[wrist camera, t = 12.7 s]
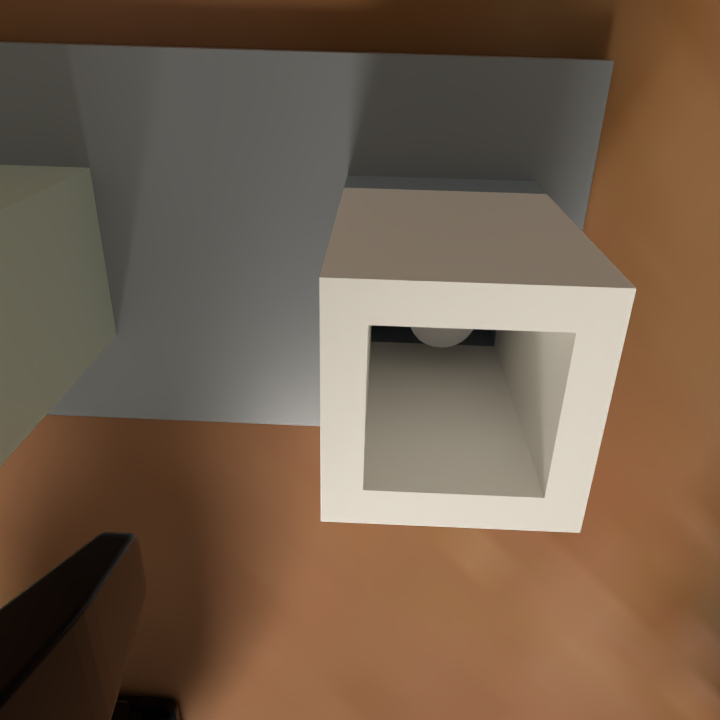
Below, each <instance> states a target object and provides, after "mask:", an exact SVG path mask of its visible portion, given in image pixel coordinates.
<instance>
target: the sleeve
mask: <svg viewBox="0 0 720 720" xmlns="http://www.w3.org/2000/svg"><path fill="white" fill-rule="evenodd" d="M635 292H636V288H635V286H634V285H633V284H632V283H631V282H630V281H629V280H628V279H627V278H626V277H625V276H624V275H623V274H622V273H621V272H620V271H619V270H618V269H617V267H616V266H615V265H614V264H613V263H612V262H611V261H610V260H609V259H608V258H607V257H606V256H605V255H604V254H603V253H602V252H601V251H600V250H599V249H598V247H597V246H596V245H595V244H594V243H593V242H592V241H591V240H590V239H589V238H588V237H587V236H586V235H585V234H584V233H583V232H582V231H581V230H580V228H579V227H578V226H577V225H576V224H575V223H574V222H573V221H572V220H571V219H570V218H569V217H568V216H567V215H566V214H565V213H564V212H563V211H562V210H561V208H560V207H559V206H558V205H557V204H556V203H555V202H554V201H553V200H552V199H551V198H550V197H549V196H548V195H547V194H546V193H545V192H544V191H543V189H542V188H541V187H540V186H539V185H538V184H537V183H536V182H535V181H514V180H482V179H450V178H418V177H386V176H354V175H347V178H346V182H345V186H344V189H343V193H342V197H341V200H340V204H339V208H338V211H337V215H336V218H335V222H334V226H333V229H332V233H331V237H330V240H329V244H328V248H327V251H326V255H325V259H324V262H323V266H322V270H321V273H320V277H319V305H320V472H321V521H324V522H347V523H370V524H393V525H416V526H438V527H461V528H484V529H507V530H530V531H553V532H575V533H580V531H581V527H582V522H583V518H584V514H585V509H586V505H587V501H588V496H589V492H590V488H591V483H592V479H593V475H594V470H595V466H596V462H597V457H598V453H599V449H600V444H601V440H602V436H603V431H604V427H605V423H606V418H607V414H608V410H609V405H610V401H611V397H612V392H613V388H614V384H615V379H616V375H617V371H618V366H619V362H620V358H621V353H622V349H623V345H624V340H625V336H626V332H627V327H628V323H629V319H630V314H631V310H632V306H633V301H634V297H635ZM411 327H431V328H458V329H473V331H472V332H471V334H470V335H469V336H468V337H467V338H466V339H465V340H463V341H462V342H460V343H458V344H456V345H454V346H450V347H443V348H439V347H433V346H430V345H427V344H425V343H423V342H422V341H420V340H419V339H418V338H417V337H416V336H415V334H414V333H413V331H412V329H411Z"/></svg>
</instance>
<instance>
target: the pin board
mask: <svg viewBox="0 0 720 720" xmlns="http://www.w3.org/2000/svg"><path fill="white" fill-rule="evenodd" d="M613 65H614V61H612V60H605V59H583V58H549V57H515V56H481V55H447V54H413V53H379V52H345V51H312V50H278V49H244V48H210V47H176V46H142V45H108V44H74V43H40V42H6V41H0V467H1V466H2V465H3V463H4V462H5V461H6V460H7V459H8V458H9V457H10V455H11V454H12V453H13V452H14V451H15V450H16V449H17V447H18V446H19V445H20V444H21V443H22V442H23V441H24V440H25V438H26V437H27V436H28V435H29V434H30V433H31V432H32V430H33V429H34V428H35V427H36V426H37V425H38V424H39V423H40V421H41V420H42V419H43V418H44V417H45V416H46V415H68V416H92V417H115V418H139V419H162V420H186V421H209V422H233V423H256V424H280V425H303V426H320V305H319V277H320V273H321V270H322V266H323V262H324V259H325V255H326V251H327V248H328V244H329V240H330V237H331V233H332V229H333V226H334V222H335V218H336V215H337V211H338V208H339V204H340V200H341V197H342V193H343V189H344V186H345V182H346V178H347V175H354V176H386V177H418V178H450V179H482V180H514V181H535V182H536V183H537V184H538V185H539V186H540V187H541V188H542V189H543V191H544V192H545V193H546V194H547V195H548V196H549V197H550V198H551V199H552V200H553V201H554V202H555V203H556V204H557V205H558V206H559V207H560V208H561V210H562V211H563V212H564V213H565V214H566V215H567V216H568V217H569V218H570V219H571V220H572V221H573V222H574V223H575V224H576V225H577V226H578V227H579V228H580V230H581V231H582V232H583V227H584V221H585V216H586V210H587V205H588V200H589V194H590V189H591V183H592V178H593V173H594V167H595V162H596V156H597V151H598V146H599V140H600V135H601V129H602V124H603V119H604V113H605V108H606V102H607V97H608V92H609V86H610V81H611V75H612V70H613ZM411 329H412V331H413V333H414V334H415V336H416V337H417V338H418V339H419V340H420V341H422V342H423V343H425V344H427V345H430V346H433V347H439V348H443V347H450V346H454V345H456V344H458V343H460V342H462V341H463V340H465V339H466V338H467V337H468V336H469V335H470V334H471V332H472V331H473V329H458V328H431V327H411Z"/></svg>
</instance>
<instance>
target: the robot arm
mask: <svg viewBox="0 0 720 720" xmlns="http://www.w3.org/2000/svg"><path fill="white" fill-rule="evenodd" d="M145 593H146V579H145V574H144V568H143V562H142V556H141V550H140V544H139V541H138V538H137V537H136V536H135V535H134V534H131V533H116V532H105V533H102V534H100V535H98V536H96V537H95V538H94V539H92V540H91V541H90V542H88V543H87V544H86V545H84V546H83V547H82V548H80V549H79V550H78V551H76V552H75V553H74V554H72V555H71V556H70V557H68V558H67V559H66V560H64V561H63V562H62V563H60V564H59V565H58V566H56V567H55V568H54V569H52V570H51V571H50V572H49V573H47V574H46V575H45V576H43V577H42V578H41V579H39V580H38V581H37V582H35V583H34V584H33V585H31V586H30V587H29V588H27V589H26V590H25V591H23V592H22V593H21V594H19V595H18V596H17V597H15V598H14V599H13V600H11V601H10V602H9V603H7V604H6V605H5V606H3V607H2V608H1V609H0V720H181V719H180V713H179V707H178V704H177V703H176V702H175V701H173V700H171V699H167V698H150V697H131V696H118V693H119V690H120V686H121V683H122V679H123V675H124V672H125V668H126V665H127V661H128V657H129V654H130V650H131V646H132V643H133V639H134V636H135V632H136V628H137V625H138V621H139V618H140V614H141V610H142V607H143V603H144V599H145Z"/></svg>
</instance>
